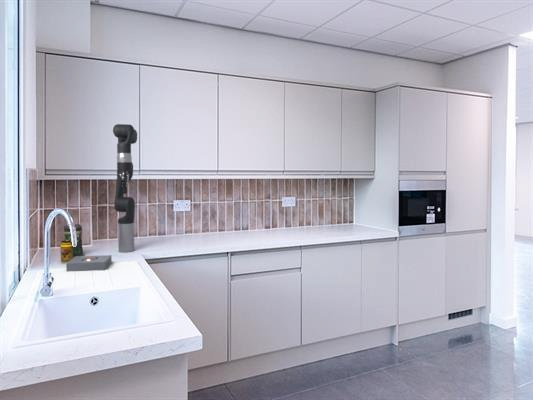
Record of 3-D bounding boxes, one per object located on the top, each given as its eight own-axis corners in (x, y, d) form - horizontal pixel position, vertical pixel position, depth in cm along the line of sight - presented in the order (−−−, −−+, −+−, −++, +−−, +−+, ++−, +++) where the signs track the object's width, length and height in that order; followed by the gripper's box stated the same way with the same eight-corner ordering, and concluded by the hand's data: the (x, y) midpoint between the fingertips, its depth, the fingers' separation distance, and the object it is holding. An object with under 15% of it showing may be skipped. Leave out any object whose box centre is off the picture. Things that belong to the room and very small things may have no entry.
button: (85, 264, 207) (85, 257, 207) (97, 263, 208) (97, 256, 208) (82, 267, 201) (82, 259, 201) (94, 266, 202) (94, 259, 202)
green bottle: (81, 254, 234) (80, 223, 232) (84, 256, 227) (83, 224, 226) (63, 256, 228) (62, 224, 227) (65, 259, 222) (64, 226, 220)
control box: (75, 263, 211) (75, 256, 211) (111, 262, 214) (111, 255, 214) (66, 271, 195) (66, 263, 195) (105, 269, 199) (105, 262, 198)
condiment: (61, 264, 210) (60, 241, 209) (58, 261, 217) (57, 239, 216) (76, 262, 215) (75, 240, 214) (72, 259, 221) (72, 237, 221)
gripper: (119, 161, 221) (119, 192, 222) (114, 161, 208) (115, 194, 209) (133, 161, 222) (133, 192, 224) (129, 161, 209) (130, 194, 211)
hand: (125, 193), depth 217 cm, fingers closed
